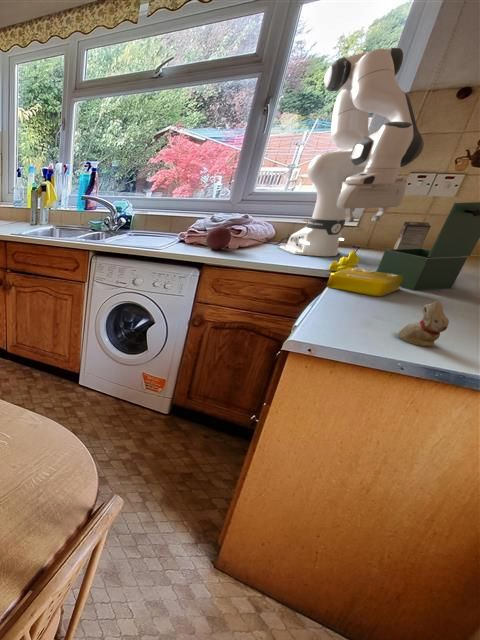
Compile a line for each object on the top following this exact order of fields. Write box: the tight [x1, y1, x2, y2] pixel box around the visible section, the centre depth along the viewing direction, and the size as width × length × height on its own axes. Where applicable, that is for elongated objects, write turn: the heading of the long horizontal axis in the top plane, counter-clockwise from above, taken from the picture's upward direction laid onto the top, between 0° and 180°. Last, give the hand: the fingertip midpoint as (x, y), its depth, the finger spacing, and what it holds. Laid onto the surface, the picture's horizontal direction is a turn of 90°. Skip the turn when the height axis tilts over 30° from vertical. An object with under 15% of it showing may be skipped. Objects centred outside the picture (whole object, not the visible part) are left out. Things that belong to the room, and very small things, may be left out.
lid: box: [428, 201, 480, 257], centre depth 126 cm, size 16×13×5 cm
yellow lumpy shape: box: [328, 249, 361, 272], centre depth 157 cm, size 6×8×8 cm
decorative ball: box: [205, 226, 232, 251], centre depth 197 cm, size 10×10×10 cm
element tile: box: [326, 267, 403, 297], centre depth 139 cm, size 15×15×5 cm
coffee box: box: [393, 221, 432, 249], centre depth 156 cm, size 9×6×16 cm
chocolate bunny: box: [397, 300, 450, 348], centre depth 100 cm, size 6×8×10 cm
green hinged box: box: [376, 247, 468, 291], centre depth 141 cm, size 15×13×10 cm
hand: (362, 221), depth 151 cm, fingers open, 8 cm apart
